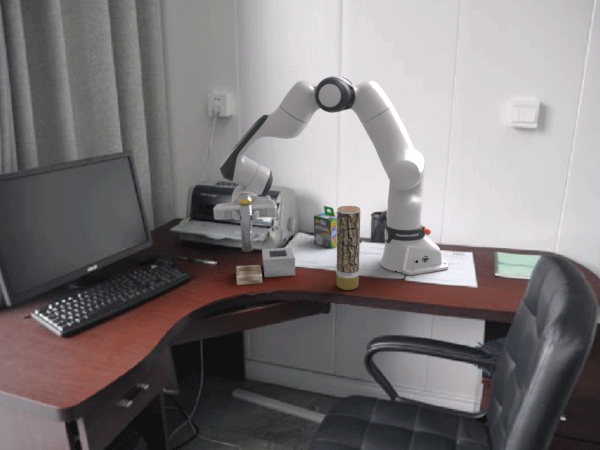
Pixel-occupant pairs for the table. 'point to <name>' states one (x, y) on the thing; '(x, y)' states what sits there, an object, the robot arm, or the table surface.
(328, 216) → the chalk box
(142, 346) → the table surface
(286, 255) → the socket block
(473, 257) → the table surface
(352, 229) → the paper tube
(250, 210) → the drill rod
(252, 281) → the birch rack
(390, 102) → the robot arm
